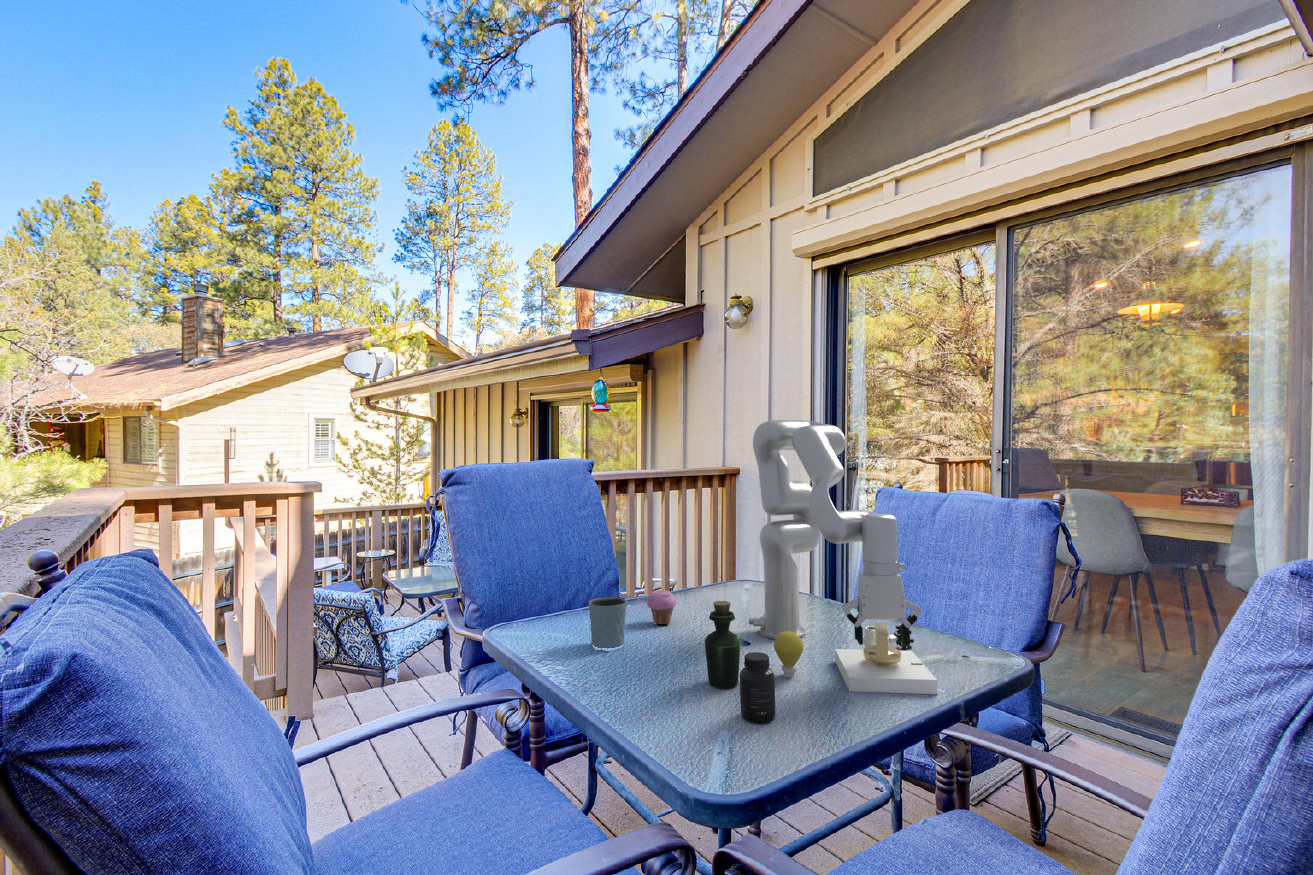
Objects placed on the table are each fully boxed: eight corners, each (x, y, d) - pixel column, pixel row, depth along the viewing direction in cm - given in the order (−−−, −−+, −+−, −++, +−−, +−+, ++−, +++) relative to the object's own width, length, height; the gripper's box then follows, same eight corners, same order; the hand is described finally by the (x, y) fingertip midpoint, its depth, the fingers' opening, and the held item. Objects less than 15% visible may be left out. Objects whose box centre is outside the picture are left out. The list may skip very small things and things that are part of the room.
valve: (873, 659, 148) (914, 654, 152) (872, 632, 148) (913, 627, 152) (857, 650, 155) (897, 645, 158) (856, 625, 155) (896, 620, 158)
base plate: (849, 691, 129) (849, 676, 129) (835, 661, 147) (835, 648, 147) (937, 694, 127) (937, 678, 127) (912, 663, 145) (911, 649, 145)
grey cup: (582, 649, 159) (581, 604, 159) (600, 638, 168) (599, 595, 168) (617, 654, 155) (616, 607, 155) (633, 642, 164) (632, 598, 164)
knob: (902, 670, 132) (901, 636, 132) (863, 667, 134) (862, 633, 134) (899, 653, 142) (899, 622, 142) (863, 650, 145) (863, 619, 145)
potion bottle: (697, 682, 136) (696, 602, 136) (723, 673, 140) (722, 596, 141) (722, 694, 129) (721, 610, 129) (749, 684, 134) (747, 603, 134)
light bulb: (787, 683, 134) (786, 638, 134) (768, 673, 140) (767, 630, 140) (810, 677, 137) (809, 633, 138) (790, 667, 143) (790, 625, 143)
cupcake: (676, 627, 176) (676, 593, 176) (647, 628, 176) (646, 594, 177) (676, 619, 185) (675, 586, 185) (647, 619, 185) (647, 586, 185)
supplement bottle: (737, 710, 121) (735, 650, 121) (770, 708, 122) (769, 648, 122) (744, 726, 114) (743, 662, 114) (780, 724, 115) (778, 661, 115)
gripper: (915, 565, 140) (916, 639, 140) (838, 564, 142) (840, 637, 142) (925, 572, 133) (926, 650, 132) (843, 571, 135) (845, 647, 135)
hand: (881, 643), depth 137 cm, fingers open, 9 cm apart
